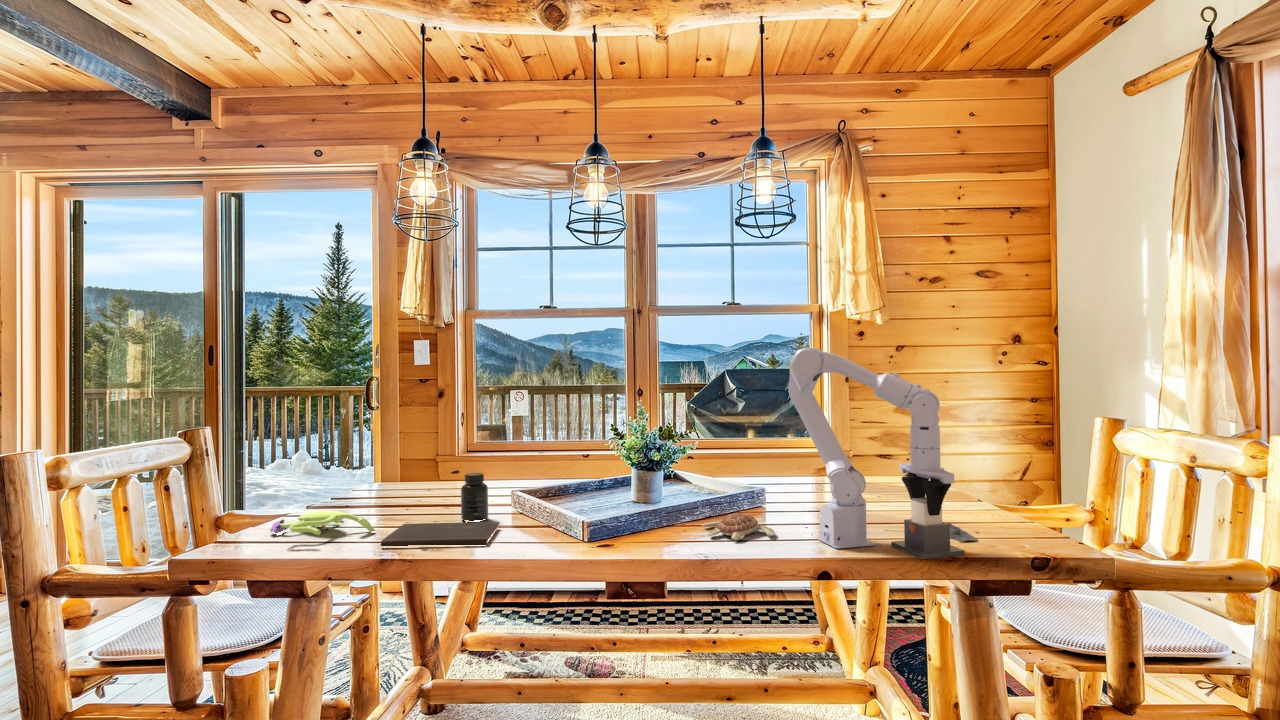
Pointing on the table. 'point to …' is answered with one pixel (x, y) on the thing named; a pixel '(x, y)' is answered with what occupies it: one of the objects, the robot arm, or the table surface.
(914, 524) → the sleeve stand
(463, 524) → the hardcover book
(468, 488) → the supplement bottle
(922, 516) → the post
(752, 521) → the decorative turtle
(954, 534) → the driftwood
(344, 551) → the table surface
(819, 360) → the robot arm
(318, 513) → the figurine
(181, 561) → the table surface
